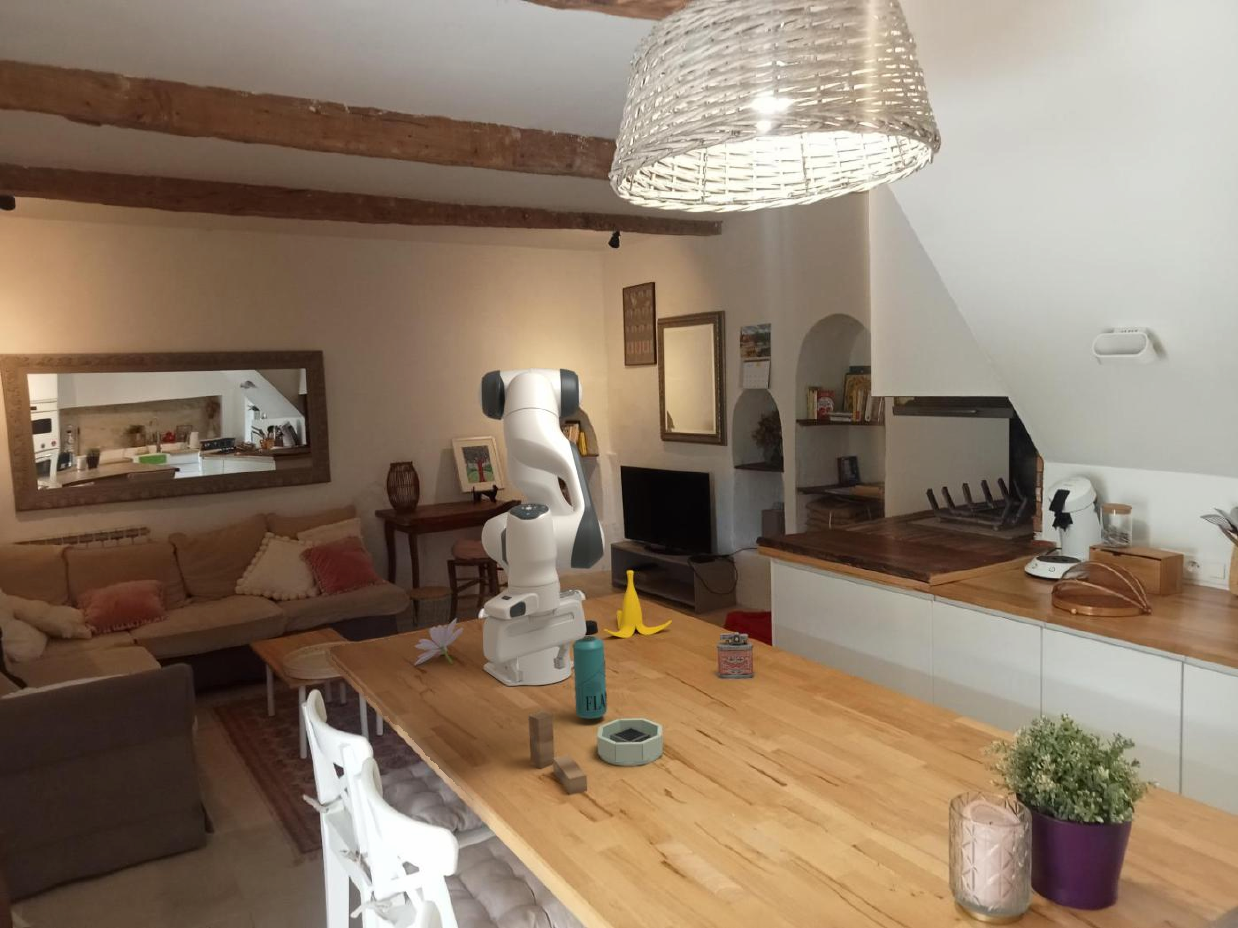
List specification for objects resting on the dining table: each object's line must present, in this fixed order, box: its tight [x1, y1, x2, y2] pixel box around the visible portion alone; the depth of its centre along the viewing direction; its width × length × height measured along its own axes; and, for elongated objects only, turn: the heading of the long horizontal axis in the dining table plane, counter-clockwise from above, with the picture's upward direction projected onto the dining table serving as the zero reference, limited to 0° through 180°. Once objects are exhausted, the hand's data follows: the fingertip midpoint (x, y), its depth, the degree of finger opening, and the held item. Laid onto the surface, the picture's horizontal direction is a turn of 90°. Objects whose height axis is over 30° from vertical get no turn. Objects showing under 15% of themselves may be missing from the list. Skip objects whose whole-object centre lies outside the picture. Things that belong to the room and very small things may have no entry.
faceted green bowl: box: [596, 717, 664, 767], centre depth 162 cm, size 12×12×4 cm
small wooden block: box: [552, 753, 588, 796], centre depth 152 cm, size 9×3×3 cm, turn 22°
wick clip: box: [610, 727, 651, 743], centre depth 162 cm, size 5×5×2 cm
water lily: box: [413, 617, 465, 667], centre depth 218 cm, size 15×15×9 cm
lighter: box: [716, 631, 755, 680], centre depth 199 cm, size 8×3×10 cm, turn 84°
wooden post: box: [528, 710, 555, 770], centre depth 159 cm, size 3×3×9 cm
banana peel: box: [603, 569, 673, 639], centre depth 235 cm, size 17×19×17 cm
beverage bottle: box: [572, 619, 608, 719], centre depth 177 cm, size 6×7×20 cm
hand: (539, 674), depth 157 cm, fingers open, 8 cm apart
